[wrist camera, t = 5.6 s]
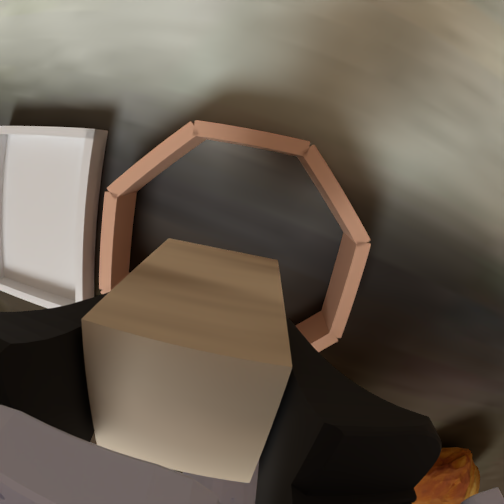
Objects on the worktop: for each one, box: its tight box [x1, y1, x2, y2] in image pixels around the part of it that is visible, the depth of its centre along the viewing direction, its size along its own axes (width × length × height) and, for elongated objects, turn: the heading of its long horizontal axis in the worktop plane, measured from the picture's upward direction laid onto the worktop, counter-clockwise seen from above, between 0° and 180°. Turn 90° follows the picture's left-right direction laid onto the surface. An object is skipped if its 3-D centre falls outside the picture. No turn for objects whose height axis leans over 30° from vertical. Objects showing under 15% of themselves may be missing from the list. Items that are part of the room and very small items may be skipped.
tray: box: [0, 126, 108, 309], centre depth 19 cm, size 13×10×2 cm
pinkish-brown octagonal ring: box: [99, 120, 371, 352], centre depth 19 cm, size 15×15×3 cm
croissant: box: [412, 447, 480, 504], centre depth 23 cm, size 14×16×8 cm
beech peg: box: [81, 238, 292, 483], centre depth 10 cm, size 4×4×7 cm
